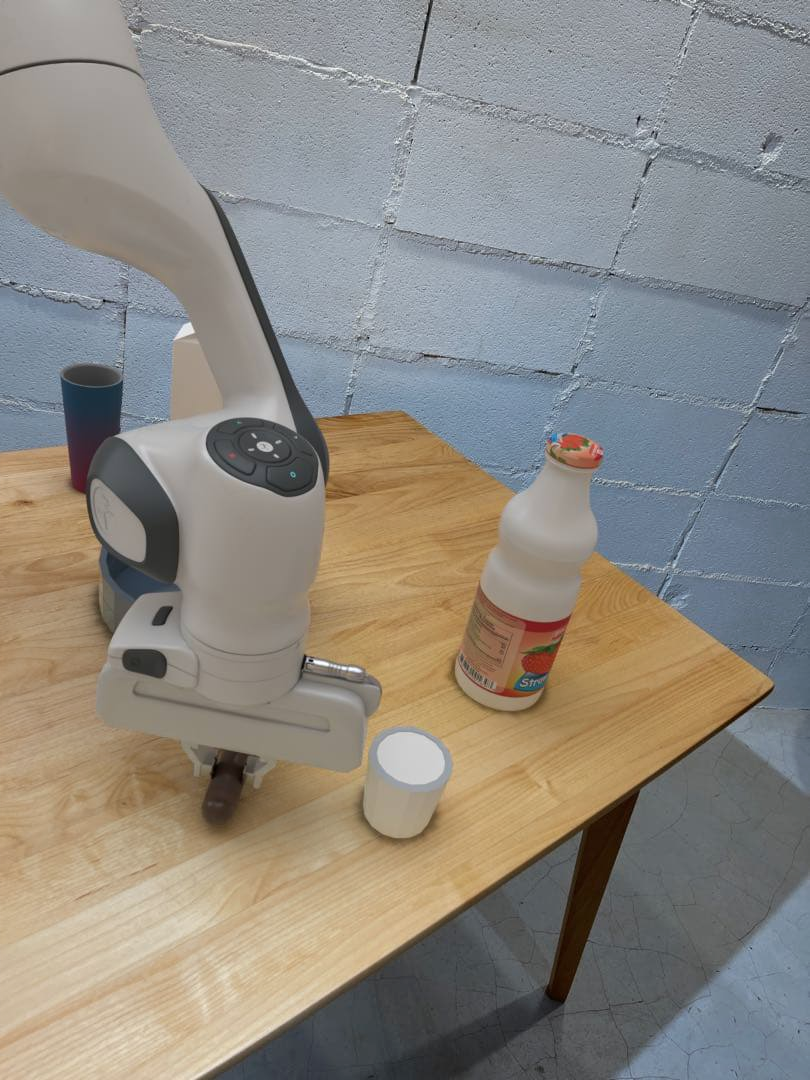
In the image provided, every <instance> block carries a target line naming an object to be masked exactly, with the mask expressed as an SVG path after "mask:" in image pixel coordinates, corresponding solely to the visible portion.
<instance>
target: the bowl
mask: <svg viewBox="0 0 810 1080" xmlns="http://www.w3.org/2000/svg"><path fill="white" fill-rule="evenodd" d="M177 591H181V589H180V588H179V587H178V586H177V585H176V584H174V583H173V584H171V585H168V584H165V583H162V582H160V581H157V580H155V579H153V578H151V577H149V576H147V575H146V574H144V573H142V572H140V571H138V570H137V569H135V568H133V567H131V566H129V565H128V564H126V563H124V562H122V561H120V560H118V559H117V558H115V557H114V556H113V555H111V554H110V553H109V552H108V551H107V550H106V549H105V548H104V547H103V546H102V545H101V547H100V553H99V556H98V604H99V609H100V613H101V617H102V620H103V622H104V623H105V625H106V626H107V628H108V630H110V632H111V633H112V634H113V635H114V633H115V631H116V629H117V627H118V626H119V624H120V622H121V621H122V619H123V617H124V616H125V614H126V613H127V612H128V610H129V609H130V608H131V606H132V605H133V604H134V603H135V602H136V600H137V599H138V598H139V597H140V596H141V595H144V594H148V593H161V592H177Z"/></svg>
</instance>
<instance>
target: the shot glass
mask: <svg viewBox="0 0 810 1080" xmlns="http://www.w3.org/2000/svg"><path fill="white" fill-rule="evenodd" d="M453 766H454V761H453V758H452V755H451V751H450V749H449V748H448V747H447V746H446V745H445V744H444V742H443V741H442V740H441V738H439V737H437V736H436V735H434V734H432V733H431V732H430V731H428V730H425V729H422V728H419V727H415V726H412V725H396V726H393V727H390V728H387V729H384V730H382V731H380V732H379V733H378V734H377V735H376V736H375V737H374V738H373V739H372V741H371V744H370V746H369V750H368V755H367V763H366V773H365V781H364V793H363V801H362V807H363V813H364V817H365V819H366V820H367V822H368V823H369V825H370V826H371V827H372V828H373V829H375V830H376V831H377V832H379V833H380V834H382V835H384V836H387V837H390V838H394V839H410V838H412V837H415V836H417V835H420V834H421V833H422V832H423V830H424V829H426V827H427V826H428V825H429V822H430V821H431V819H432V816H433V814H434V812H435V810H436V808H437V806H438V803H439V801H441V800H440V799H441V798H442V795H443V793H444V791H445V789H446V787H447V784H448V783H449V780H450V779H451V776H452V771H453Z"/></svg>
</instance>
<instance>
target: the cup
mask: <svg viewBox="0 0 810 1080" xmlns="http://www.w3.org/2000/svg"><path fill="white" fill-rule="evenodd" d="M59 377H60V387H61V395H62V405H63V414H64V425H65V432H66V433H65V434H66V441H67V442H66V443H67V453H68V460H69V469H70V470H69V471H70V481H71V486H72V488H73V489H74V490H76V491H77V492H79V493H82V494H85V495H86V483H87V477H88V472H89V468H90V465H91V462H92V459H93V457H94V455H95V453H96V451H97V450H98V448H99V447H100V445H101V444H102V443H103V442H104V440H105V439H107V438H108V437H113V436H115V435H118V434H120V433H121V432H120V431H121V418H122V404H123V392H124V391H123V390H124V378H125V375H124V374H123V372H122V371H121V370H119V369H117V368H116V367H113V366H110V365H106V364H102V363H95V362H81V363H80V362H79V363H73V364H70V365H67V366H65V367H63V368H62V369H61V370H60V373H59Z"/></svg>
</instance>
